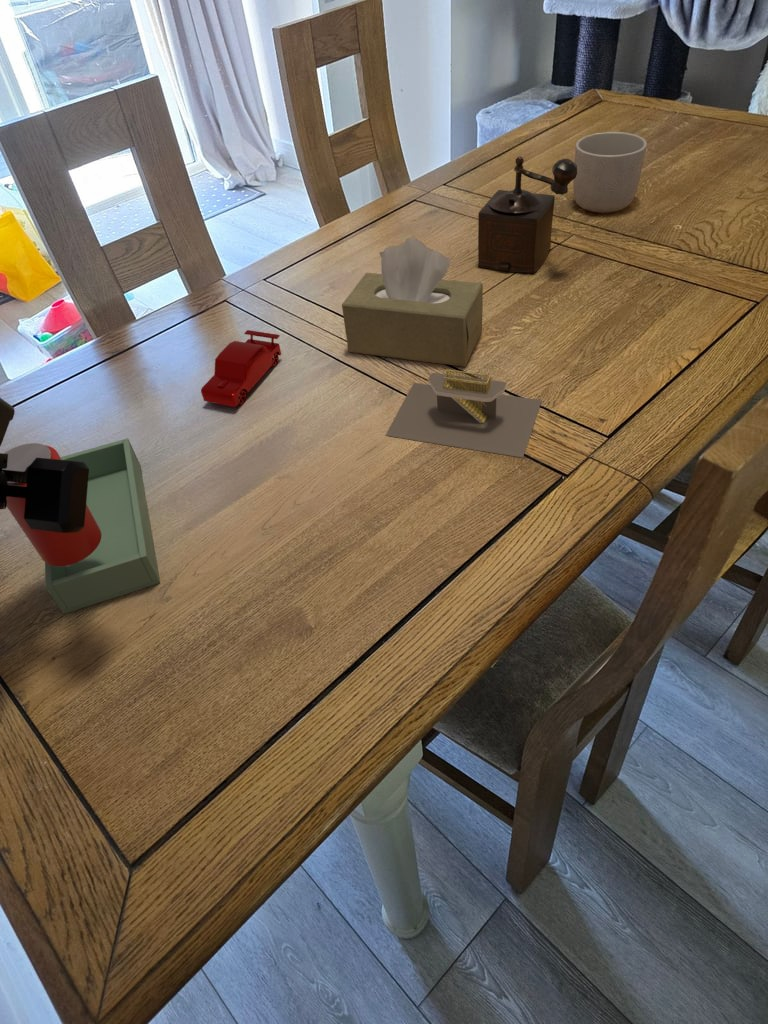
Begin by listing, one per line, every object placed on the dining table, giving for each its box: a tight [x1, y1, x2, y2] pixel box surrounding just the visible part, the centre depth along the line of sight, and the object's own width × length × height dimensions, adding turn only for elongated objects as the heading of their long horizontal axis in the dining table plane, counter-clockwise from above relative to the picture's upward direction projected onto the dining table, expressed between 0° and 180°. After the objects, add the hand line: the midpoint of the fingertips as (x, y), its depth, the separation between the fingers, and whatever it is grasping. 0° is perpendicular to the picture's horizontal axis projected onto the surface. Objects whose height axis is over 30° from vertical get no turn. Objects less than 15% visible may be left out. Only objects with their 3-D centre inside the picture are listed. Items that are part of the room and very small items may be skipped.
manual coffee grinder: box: [477, 156, 577, 274], centre depth 114 cm, size 16×11×18 cm
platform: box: [385, 369, 543, 458], centre depth 89 cm, size 12×18×7 cm, turn 70°
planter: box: [572, 131, 648, 214], centre depth 129 cm, size 12×12×11 cm
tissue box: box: [341, 237, 484, 368], centre depth 100 cm, size 19×10×16 cm, turn 70°
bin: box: [44, 438, 161, 615], centre depth 81 cm, size 10×21×5 cm, turn 20°
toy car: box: [200, 329, 282, 408], centre depth 100 cm, size 14×6×5 cm, turn 158°
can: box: [3, 442, 102, 566], centre depth 69 cm, size 6×6×12 cm
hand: (52, 489), depth 70 cm, fingers closed on can, 6 cm apart
